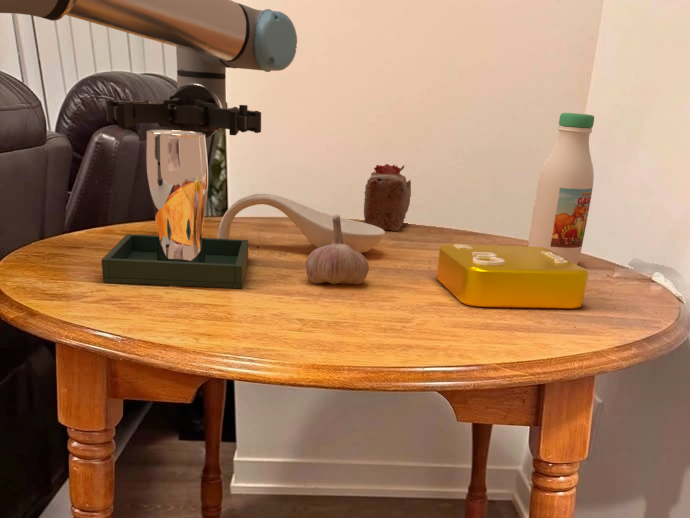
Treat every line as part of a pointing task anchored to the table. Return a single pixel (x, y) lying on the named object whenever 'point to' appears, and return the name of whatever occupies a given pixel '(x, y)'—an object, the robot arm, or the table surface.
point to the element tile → (511, 276)
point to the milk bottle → (565, 190)
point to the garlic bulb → (336, 261)
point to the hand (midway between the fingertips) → (177, 119)
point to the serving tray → (176, 264)
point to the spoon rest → (309, 223)
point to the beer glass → (178, 192)
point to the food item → (387, 198)
